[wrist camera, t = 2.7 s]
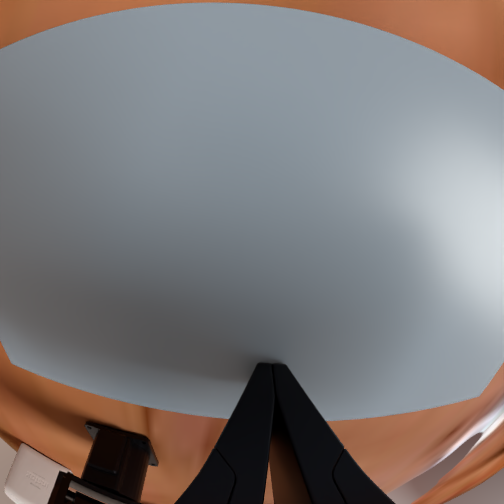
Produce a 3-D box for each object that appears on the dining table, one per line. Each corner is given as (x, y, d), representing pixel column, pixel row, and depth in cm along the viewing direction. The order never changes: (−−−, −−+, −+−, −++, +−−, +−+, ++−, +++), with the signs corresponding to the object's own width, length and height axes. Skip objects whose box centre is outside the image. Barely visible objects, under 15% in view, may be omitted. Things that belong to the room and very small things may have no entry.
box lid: (472, 385, 10) (478, 396, 10) (19, 352, 10) (11, 363, 9) (565, 149, 5) (578, 153, 5) (-25, 70, 5) (-40, 70, 4)
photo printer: (73, 470, 30) (56, 526, 19) (72, 474, 32) (56, 526, 20) (20, 439, 28) (-3, 492, 17) (23, 445, 29) (2, 495, 18)
